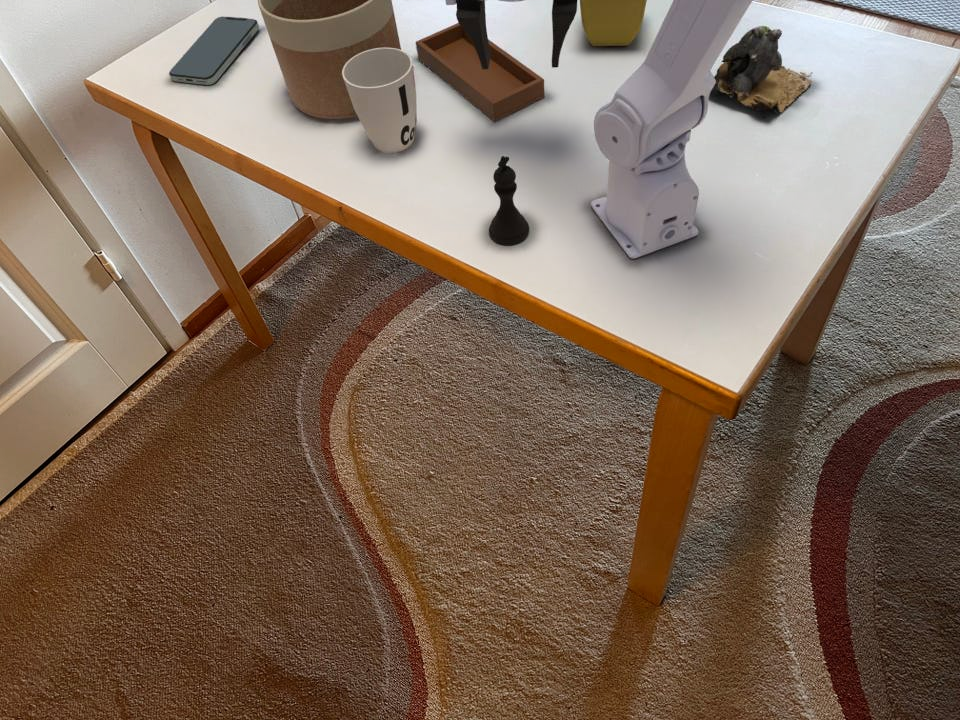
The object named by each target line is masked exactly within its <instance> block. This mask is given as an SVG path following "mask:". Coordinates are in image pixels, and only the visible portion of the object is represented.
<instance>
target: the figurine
mask: <svg viewBox="0 0 960 720" xmlns="http://www.w3.org/2000/svg"><path fill="white" fill-rule="evenodd" d="M782 34H783V31H782V30H781V29H780V28H776V29H771V28H770V27H768V26H767V25H766V26H765V25H760V26H759V25H758V26H756V27H752V28H751V29H750V30H748V31H747V32H745V34H744V35H743V36H741V38H740V40H739V41H738V42H736V43H735V44H733V45H732V46H731V47H730V48H728V50H727V51H726V52H725V53H724V55H723V56H722V60H721V64H720V66H719V67H718V68H717V69H716V74H715V75H714V74H712V75H713V77H714V78H715V80H716V83H715V85H714V87H713V88H712V90H715V91H717V92H716V94H715V98H717V97H718V96H717V94H719V92H721V93H725V94H726V95H728V97H730V98H733V97H734V93H736V95H737V96H736V98H737V99H736V100H737V101H738V103H739V102H740V103H741V104H742V105H744V106H746V107H750V108H752V110H753V111H754V110H756V111H761V110H762V111H763V110H764V111H766V110H771V109H772V110H773V111H774V112H775V114H777V113H783V111H784V109H785V108H786V107H788V106H790V105H791V104H792V103H793V102H794V101H795V100H796V98H798V97H799V95H801V94H802V93H803V92H805V91H806V90H807V89H808V88H809V87H812V83H813V80H812V79H808V78H810V77H812V75H813V73H814V72H813V71H810V73H808V74H807V73H806V72H804V71H800V72H797V71H795V70H793V69H791V67H789V68H786V66H784V65H783V58H782V54H781V52H780V51H779V40H780V38H781V37H782V36H783V35H782ZM762 119H765V116H763V117H762Z"/></svg>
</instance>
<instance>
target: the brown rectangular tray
mask: <svg viewBox="0 0 960 720" xmlns="http://www.w3.org/2000/svg"><path fill="white" fill-rule="evenodd" d="M488 42H489V49H490V62H489V68H488V69H482V66H481V63H480V60H479V57H478V54H477V52H476V50H475V47H474V45H473V43H472V41H471V40H470V38H469V36H468V35H467V33H466V32H465V30H464V29H463V28H462V26H461V25H460V24H459V23H458V22H457V23H455V24H453V25H450V26H448V27H446V28H443V29H440V30H439V31H436V32H433V33H432V34H429V35H428V36H425V37H423V38H420V39H419V40H416V41H415V47H416V53H417V60H419V61H420V62H421V63H422V64H424V65H425V66H426V67H428V68H429V69H430V70H431V71H432V72H434V74H436V75H437V76H438V77H440V78H441V79H442V80H443V81H444V82H446V83H447V84H448V85H449V86H450V87H452V88H453V89H454V90H455V91H457V92H458V93H459V94H460V95H461V96H463V97H464V98H465V99H466V100H468V101H469V102H470V103H471V104H472V105H474V106H475V107H476V108H477V109H479V110H480V111H481V112H482V113H484V114H485V115H486V116H487V117H489V118H490V119H491V120H492V121H493V122H495V123H496V122H498V121H499V120H502V119H504V118H506V117H507V116H510V115H512V114H513V113H515V112H518V111H521V110H522V109H524V108H526V107H528V106H530V105H532V104H534V103H536V102H538V101H540V100H542V99H544V98H545V95H546V94H545V79H544V78H543V77H541V76H540V75H539V74H538V73H536V72H535V71H533V70H532V69H530V68H529V67H527V65H526V64H523V63H522V62H521V61H519V60H518V59H517V58H515V57H514V56H513V55H511V54H509V53H508V52H507V51H506V50H504V49H502V48H501V47H500V46H498V45H497V44H495V42H493V41H491V40H490V39H489V38H488Z"/></svg>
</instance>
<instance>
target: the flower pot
mask: <svg viewBox="0 0 960 720" xmlns="http://www.w3.org/2000/svg"><path fill="white" fill-rule="evenodd" d="M647 1H648V0H579V9H580V19H581V24H582V29H583V32H584V34H585V36H586V38H587V40H588V41H589V43H590V44H591V45H592V46H594V47H611V46H612V47H615V46H616V47H617V46H618V47H620V46H622V47H623V46H624V47H626V46H630V45H631V44H632V43H633V41H634V40H635V39H636V37H637V35H638V33H639V32H640V29H641V27H642V24H643V21H644V17H645V12H646V7H647V6H646V5H647Z"/></svg>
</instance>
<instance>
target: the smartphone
mask: <svg viewBox="0 0 960 720" xmlns="http://www.w3.org/2000/svg"><path fill="white" fill-rule="evenodd" d="M259 29H260V25H259V23H258V20H256V19H255V18H248V17H236V16H218V17H217V18H215V19H214V20H213V21H212V22H211V23H210V24H209V25H208V27H207V28H206V29H205V30H204V31H203V32H202V34H201V35H200V36H199V37H198V38H197V39H196V41H194V43H192V45H191V46H190V47H189V48H188V49H187V51H185V53H184V54H183V55H182V57H180V59H179V60H178V61H177V62H176V64H174V65H173V67H172V68H171V69H170V71H169V72H168V75H169V77H170V79H171V80H172V81H173V82H178V83H187V84H194V85H195V84H196V85H204V86H210V85H214V84H216V83H217V82H218V80H219V79H220V77H221V76H222V75H223V74H224V73H225V71H226V70H227V69H228V67H229V66H230V65H231V64H232V63H233V62H234V60H236V58H237V56H238V55H239V54H240V53H241V52H242V50H243V49H244V48H245V47H246V45H247V44H248V43H249V42H250V40H251V39H252V38H253V37H254V36H255V34H256V33H257V32H258V30H259Z"/></svg>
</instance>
